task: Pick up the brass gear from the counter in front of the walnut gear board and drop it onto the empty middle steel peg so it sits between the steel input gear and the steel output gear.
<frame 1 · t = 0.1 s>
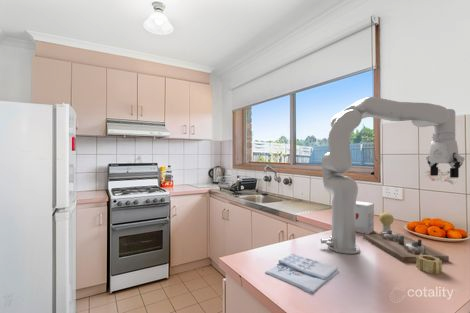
hand: (443, 176, 106), 31 cm above the counter, tool pointing down, fingers open, 9 cm apart
gear board: (401, 248, 105), on the counter
brass gear: (428, 269, 86), on the counter
folded cloth napkin: (300, 274, 84), on the counter
light bulb: (386, 231, 128), on the counter
supplement box: (362, 231, 130), on the counter
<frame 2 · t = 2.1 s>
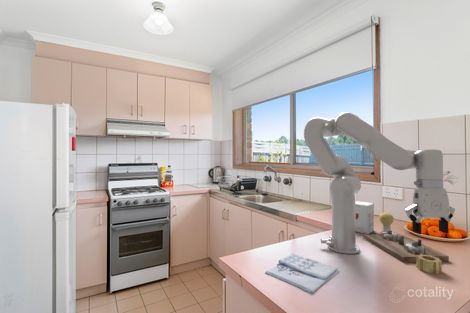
hand: (430, 232, 85), 13 cm above the counter, tool pointing down, fingers open, 9 cm apart
nothing on the counter moved.
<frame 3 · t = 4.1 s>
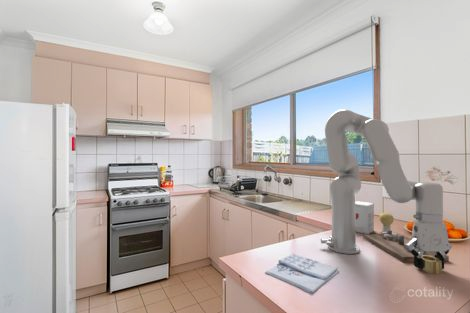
hand: (428, 267, 86), 1 cm above the counter, tool pointing down, fingers closed on brass gear, 7 cm apart
brass gear: (428, 269, 86), on the counter, touching gripper
everything else where it was.
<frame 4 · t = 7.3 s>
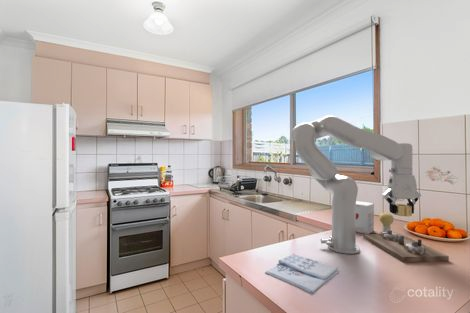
hand: (401, 212, 104), 16 cm above the counter, tool pointing down, fingers closed on brass gear, 7 cm apart
brass gear: (401, 214, 104), point 15 cm above the counter, touching gripper
everything else where it was.
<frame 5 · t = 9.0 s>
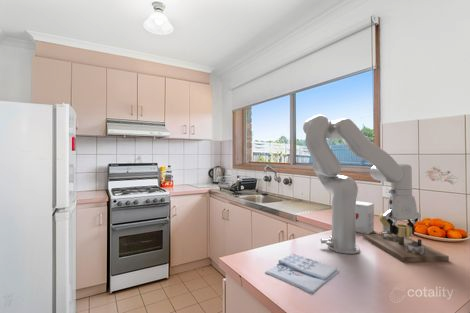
hand: (402, 233, 105), 7 cm above the counter, tool pointing down, fingers closed on brass gear, 7 cm apart
brass gear: (402, 234, 105), point 6 cm above the counter, touching gripper
everything else where it was.
when the fingers open (4 cm above the counter, at t = 10.5 s): brass gear drops 1 cm, resting on gear board.
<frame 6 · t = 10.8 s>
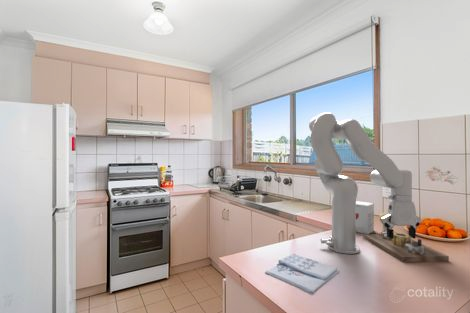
hand: (401, 237, 105), 5 cm above the counter, tool pointing down, fingers open, 9 cm apart
brass gear: (401, 243, 105), point 2 cm above the counter, touching gear board
everything else where it was.
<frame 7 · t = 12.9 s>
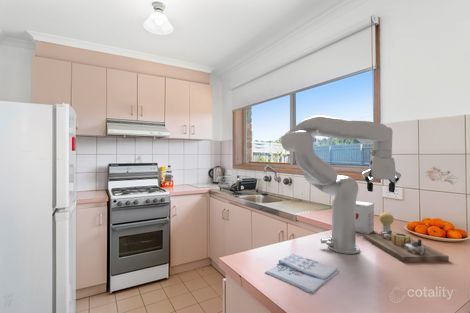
hand: (380, 191, 110), 24 cm above the counter, tool pointing down, fingers open, 9 cm apart
nothing on the counter moved.
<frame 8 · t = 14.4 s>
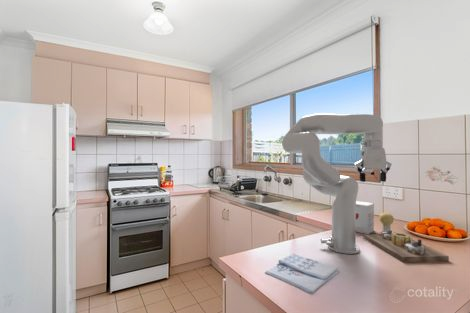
hand: (372, 181, 113), 28 cm above the counter, tool pointing down, fingers open, 9 cm apart
nothing on the counter moved.
at the end: brass gear 0.1 cm off-centre on the gear board, point 2.0 cm above the gear board's base; brass gear tilted 0°; the gripper is holding nothing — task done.
